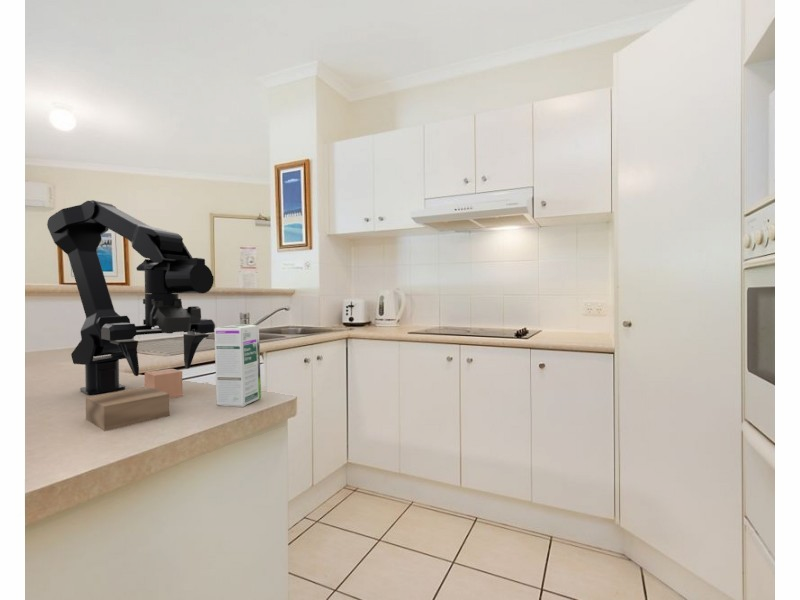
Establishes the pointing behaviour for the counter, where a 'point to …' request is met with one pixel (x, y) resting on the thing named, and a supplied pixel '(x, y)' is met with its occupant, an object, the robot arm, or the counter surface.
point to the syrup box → (237, 365)
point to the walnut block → (126, 407)
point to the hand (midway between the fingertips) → (163, 371)
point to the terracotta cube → (165, 381)
